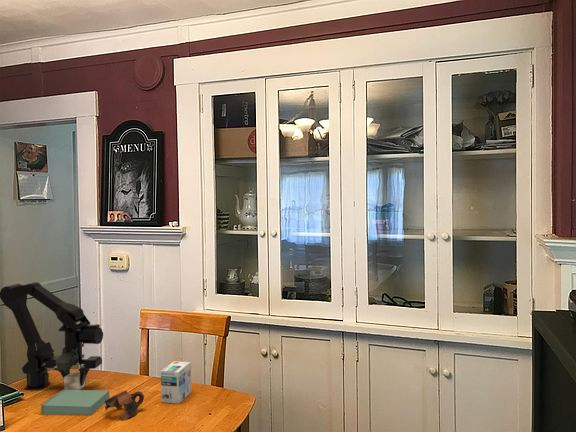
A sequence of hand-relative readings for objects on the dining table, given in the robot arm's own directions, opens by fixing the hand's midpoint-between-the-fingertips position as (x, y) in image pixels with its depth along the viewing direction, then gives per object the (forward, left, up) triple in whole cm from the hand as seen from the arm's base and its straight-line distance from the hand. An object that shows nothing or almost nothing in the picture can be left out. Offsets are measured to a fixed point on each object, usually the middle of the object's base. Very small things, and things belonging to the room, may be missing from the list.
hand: (74, 385), depth 179 cm
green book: (+9, -15, -1) cm, 18 cm away
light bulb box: (+40, -6, -1) cm, 40 cm away
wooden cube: (0, 0, -1) cm, 1 cm away
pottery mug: (+28, -19, -1) cm, 34 cm away
